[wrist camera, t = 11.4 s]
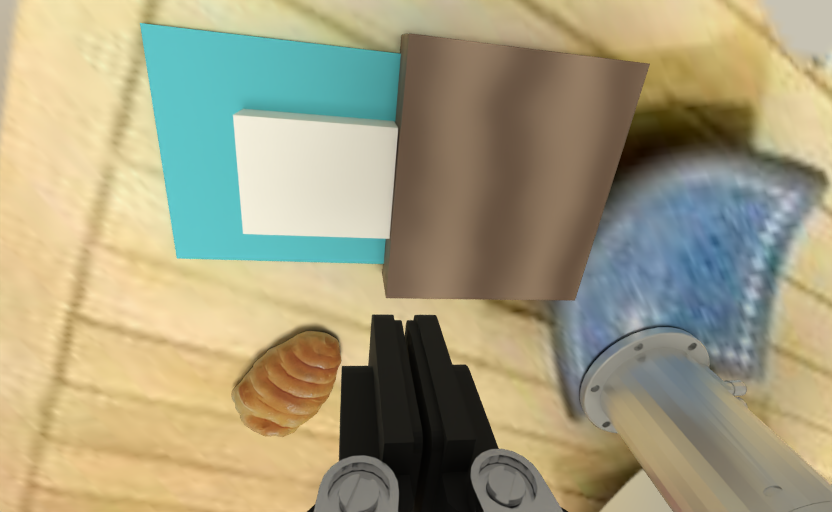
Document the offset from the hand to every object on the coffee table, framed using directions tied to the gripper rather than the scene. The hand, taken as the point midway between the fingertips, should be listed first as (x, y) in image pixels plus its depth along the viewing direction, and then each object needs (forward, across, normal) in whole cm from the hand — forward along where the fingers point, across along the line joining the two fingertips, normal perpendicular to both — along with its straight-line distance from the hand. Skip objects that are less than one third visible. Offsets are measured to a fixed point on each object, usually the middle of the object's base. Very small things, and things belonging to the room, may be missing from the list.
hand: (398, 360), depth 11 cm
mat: (+19, +6, 0) cm, 20 cm away
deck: (+19, -8, 0) cm, 21 cm away
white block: (+19, +3, 0) cm, 19 cm away
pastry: (+20, +6, +17) cm, 27 cm away
